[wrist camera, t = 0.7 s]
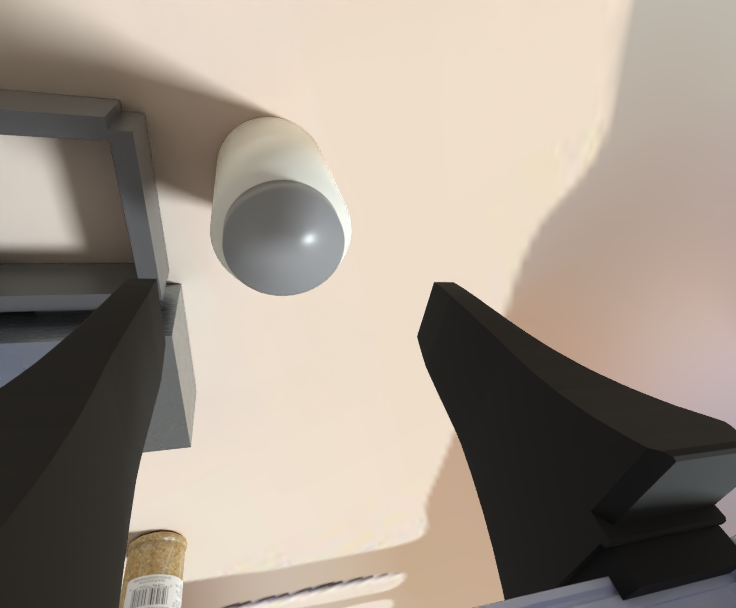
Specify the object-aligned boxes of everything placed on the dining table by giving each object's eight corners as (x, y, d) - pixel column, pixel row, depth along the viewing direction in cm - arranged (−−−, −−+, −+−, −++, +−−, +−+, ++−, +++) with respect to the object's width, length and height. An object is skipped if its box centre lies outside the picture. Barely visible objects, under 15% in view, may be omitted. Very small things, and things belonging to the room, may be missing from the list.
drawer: (-20, 408, 23) (-70, 494, 20) (-91, 288, 19) (-175, 370, 15) (196, 391, 26) (189, 463, 23) (181, 284, 22) (169, 351, 18)
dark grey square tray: (-18, 297, 20) (-46, 332, 18) (-124, 78, 14) (-179, 95, 12) (172, 293, 22) (166, 324, 20) (142, 101, 17) (130, 119, 15)
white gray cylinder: (220, 219, 20) (214, 306, 15) (212, 111, 17) (202, 172, 12) (321, 221, 21) (347, 302, 16) (329, 122, 19) (364, 180, 13)
